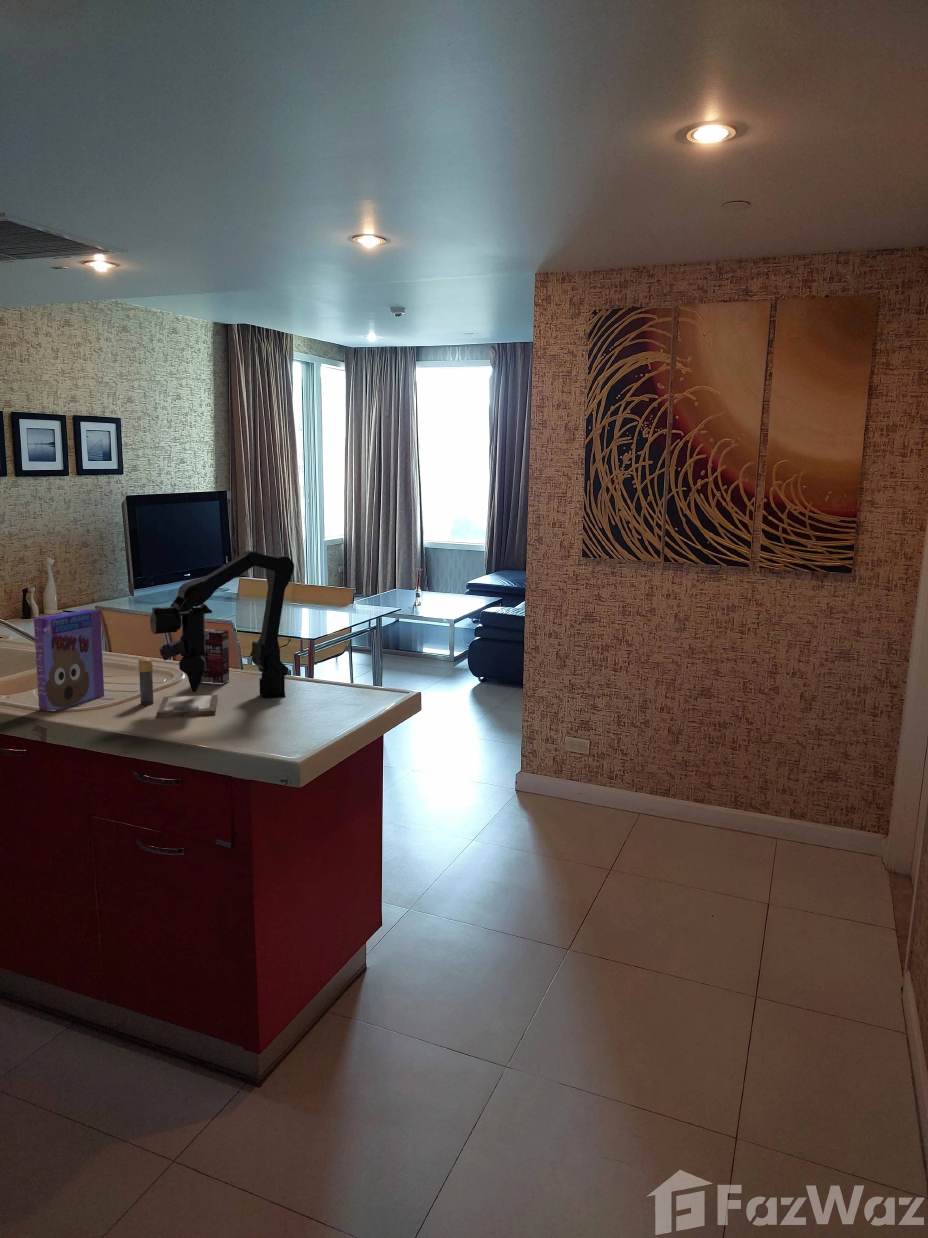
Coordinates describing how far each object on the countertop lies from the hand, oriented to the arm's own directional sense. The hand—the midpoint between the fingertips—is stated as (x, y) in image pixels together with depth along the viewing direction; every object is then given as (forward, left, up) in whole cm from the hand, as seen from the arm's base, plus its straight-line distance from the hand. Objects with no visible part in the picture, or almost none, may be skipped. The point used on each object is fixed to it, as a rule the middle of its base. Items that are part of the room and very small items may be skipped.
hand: (195, 688), depth 214 cm
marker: (+13, -4, -5) cm, 14 cm away
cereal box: (+32, -8, -5) cm, 33 cm away
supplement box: (-3, -25, -5) cm, 26 cm away
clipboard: (+2, +2, -5) cm, 5 cm away
